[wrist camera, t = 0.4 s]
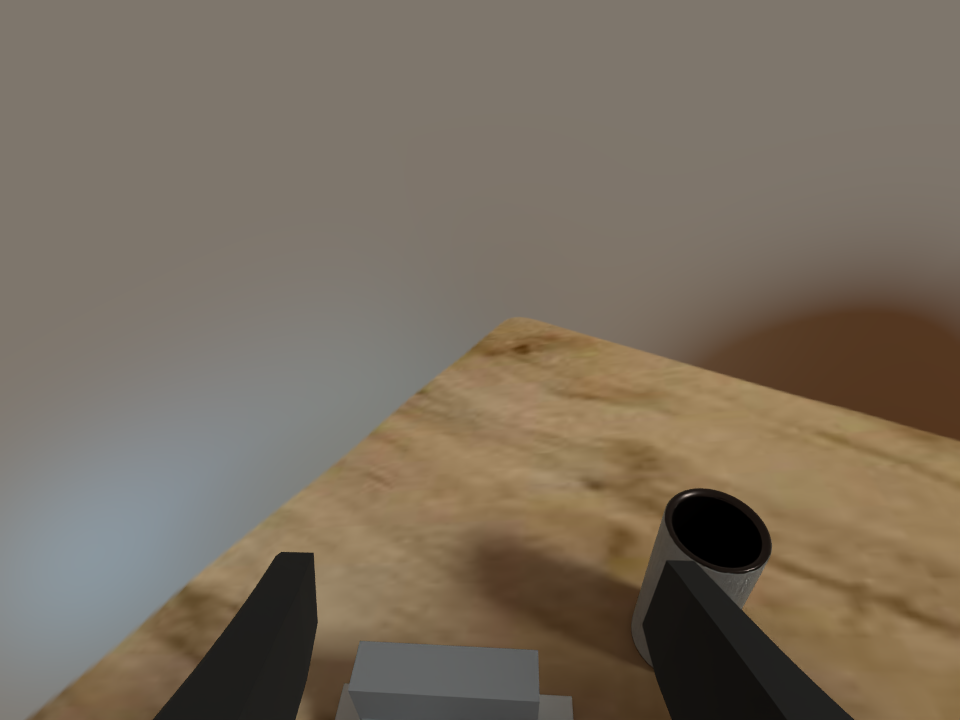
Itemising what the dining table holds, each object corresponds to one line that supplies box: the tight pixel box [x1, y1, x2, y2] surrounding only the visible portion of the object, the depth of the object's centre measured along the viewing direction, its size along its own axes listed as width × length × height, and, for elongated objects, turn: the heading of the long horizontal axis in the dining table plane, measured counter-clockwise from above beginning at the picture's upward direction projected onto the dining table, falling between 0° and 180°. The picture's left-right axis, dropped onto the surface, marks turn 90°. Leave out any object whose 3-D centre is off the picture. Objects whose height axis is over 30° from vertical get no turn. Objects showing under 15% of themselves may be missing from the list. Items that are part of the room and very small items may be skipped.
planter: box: [631, 488, 772, 667], centre depth 26 cm, size 4×4×10 cm
